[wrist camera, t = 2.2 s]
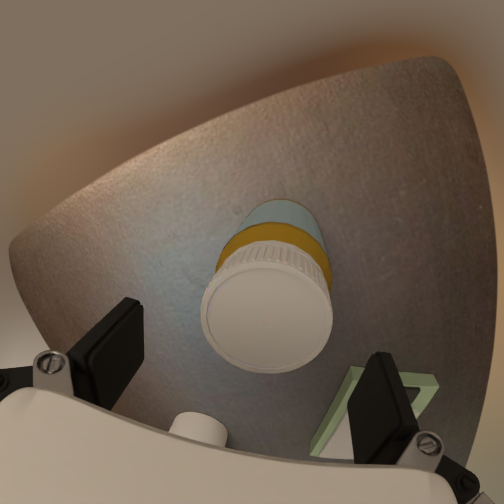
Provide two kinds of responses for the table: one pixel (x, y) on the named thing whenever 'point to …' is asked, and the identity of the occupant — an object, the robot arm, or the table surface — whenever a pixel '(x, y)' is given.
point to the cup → (200, 428)
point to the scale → (336, 419)
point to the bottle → (270, 291)
